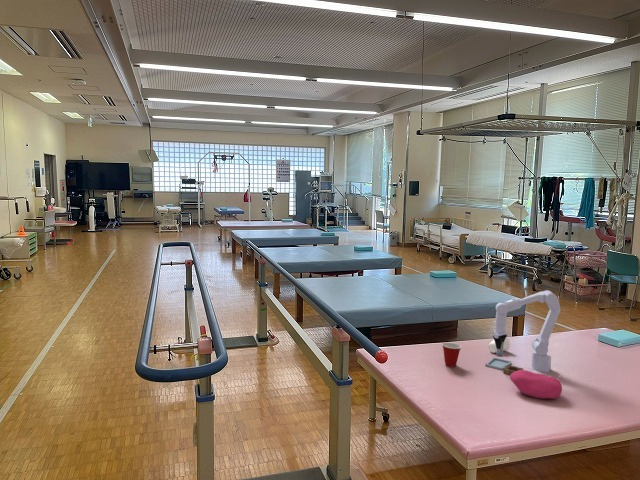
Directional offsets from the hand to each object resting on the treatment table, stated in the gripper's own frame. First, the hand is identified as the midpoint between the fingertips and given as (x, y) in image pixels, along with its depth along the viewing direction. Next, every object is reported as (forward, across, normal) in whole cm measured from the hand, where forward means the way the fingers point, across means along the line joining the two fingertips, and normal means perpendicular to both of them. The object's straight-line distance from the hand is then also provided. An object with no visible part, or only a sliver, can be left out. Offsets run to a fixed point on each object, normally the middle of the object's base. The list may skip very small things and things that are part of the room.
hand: (499, 347), depth 262 cm
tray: (+10, 0, 0) cm, 10 cm away
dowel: (+4, 0, 0) cm, 5 cm away
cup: (+7, -18, -10) cm, 22 cm away
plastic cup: (+11, +17, -21) cm, 29 cm away
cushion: (+11, +25, +26) cm, 38 cm away
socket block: (+10, +7, +10) cm, 16 cm away
